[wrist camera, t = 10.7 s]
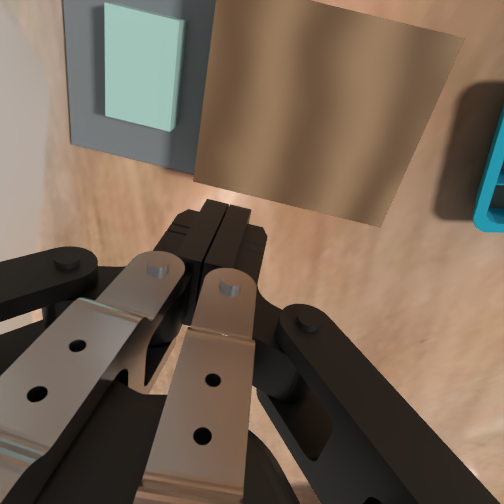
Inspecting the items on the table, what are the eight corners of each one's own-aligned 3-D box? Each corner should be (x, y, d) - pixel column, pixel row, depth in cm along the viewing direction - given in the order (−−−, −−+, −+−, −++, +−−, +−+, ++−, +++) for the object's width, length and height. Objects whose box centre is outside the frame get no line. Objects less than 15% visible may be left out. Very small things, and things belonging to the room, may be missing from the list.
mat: (225, -37, 27) (224, -37, 27) (198, 174, 36) (197, 175, 35) (61, -77, 27) (58, -78, 27) (73, 143, 36) (71, 144, 35)
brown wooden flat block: (446, 35, 27) (465, 38, 24) (374, 206, 35) (380, 227, 32) (230, -18, 28) (219, -22, 24) (204, 165, 35) (193, 181, 32)
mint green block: (104, 2, 27) (116, 3, 29) (105, 115, 32) (115, 110, 33) (179, 20, 27) (187, 20, 29) (169, 131, 32) (177, 125, 33)
